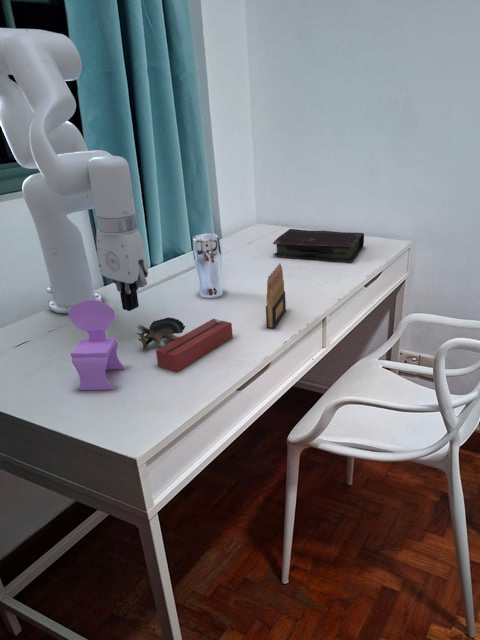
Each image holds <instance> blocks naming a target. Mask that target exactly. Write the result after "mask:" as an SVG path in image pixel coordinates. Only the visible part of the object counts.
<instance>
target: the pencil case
mask: <svg viewBox="0 0 480 640" xmlns="http://www.w3.org/2000/svg"><path fill="white" fill-rule="evenodd" d="M233 337H234V336H233V325H232V322H229V321H226V320H221V319H218V318H212V319H209V320H207V321H206V322H205V323H203V324H201V325H199V326H196V327H195V328H193V329H192V330H190V331H188V332H187V333H185V334H183V335H181V336H180V337H179V338H178V339H176V340H172V341H170V342H169V343H167V344H165V346H163V347H160V348H158V349H156V350H155V353H156V360H157V366H158V367H159V368H163V369H165V370H169V371H172V372H176V373H178V372H180V371H182V370H183V369H185V368H187V367H188V366H189V365H191V364H193V363H194V362H196V361H198V360H199V359H201V358H203V357H204V356H205V355H207V354H209V353H211V352H212V351H214V350H215V349H217V348H219V347H220V346H222V345H223V344H225V343H226V342H228V341H230V340H231V339H233Z"/></svg>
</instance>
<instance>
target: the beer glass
mask: <svg viewBox="0 0 480 640" xmlns="http://www.w3.org/2000/svg"><path fill="white" fill-rule="evenodd" d="M191 238H192V255H193V261H194V266H195V269H196V272H197V275H198V279H199V296H200V298H203V299H216V298H219V297H221V296H223V295H224V291H223V287H222V283H221V271H222V247H221V241H220V236H219V235H218V234H217V233H208V232H207V233H199V234H196V235H193V236H192V237H191Z"/></svg>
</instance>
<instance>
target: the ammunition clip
mask: <svg viewBox="0 0 480 640" xmlns="http://www.w3.org/2000/svg"><path fill="white" fill-rule="evenodd" d="M283 272H284V271H283V267H282V263H280V262H279V264H278V265H277V266H276V267H275V268H274V270H272V272H271V273H270V275H268V277H267V281H266V306H265V317H266V318H265V319H266V323H265V324H266V329H273V330H274V329H276V327H277V326H278V324H279V323H280V321H281V320H282V318H283V316H284V315H285V313H286V312H287V303H286V302H287V301H286V291H285V281H284V274H283Z"/></svg>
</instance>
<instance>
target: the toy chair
mask: <svg viewBox="0 0 480 640" xmlns="http://www.w3.org/2000/svg"><path fill="white" fill-rule="evenodd" d="M68 316H69V319H70V320H71V322H72V323H73V324H74V326H75V327H76V328H77V329H79V330H82V331H85V332H86V333H87V335H88V337H82V338H81V339H80V341H79V342H78V344H77V345H76V346H75V347H74V348H73V349H72V351H71V352H70V356H71V357H70V358H71V363H72V366H73V367H74V369H75V370H76V372H77V374H78V376H79V389H78V390H79V391H103V390H104V391H105V390H114V389H115V387H114V385H112V384H111V382H109V380H108V379H107V376H106V370H125V369H126V366H125V365H124V364H123V363H122V361H120V359H119V357H118V346H119V342H118V340H117V337H107V335H106V329H108V328H110V327H111V325H112V324H113V322H114V321H115V319H116V312H115V310H114V309H113V307H111V306H110V305H109V304H107V303H105V302H103V301H102V302H101V301H99V300H95V299H90V300H85V301H82V302H79V303H77V304H76V305H74V306H73V307H72V308H71V309H70V311H69V313H68Z"/></svg>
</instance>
